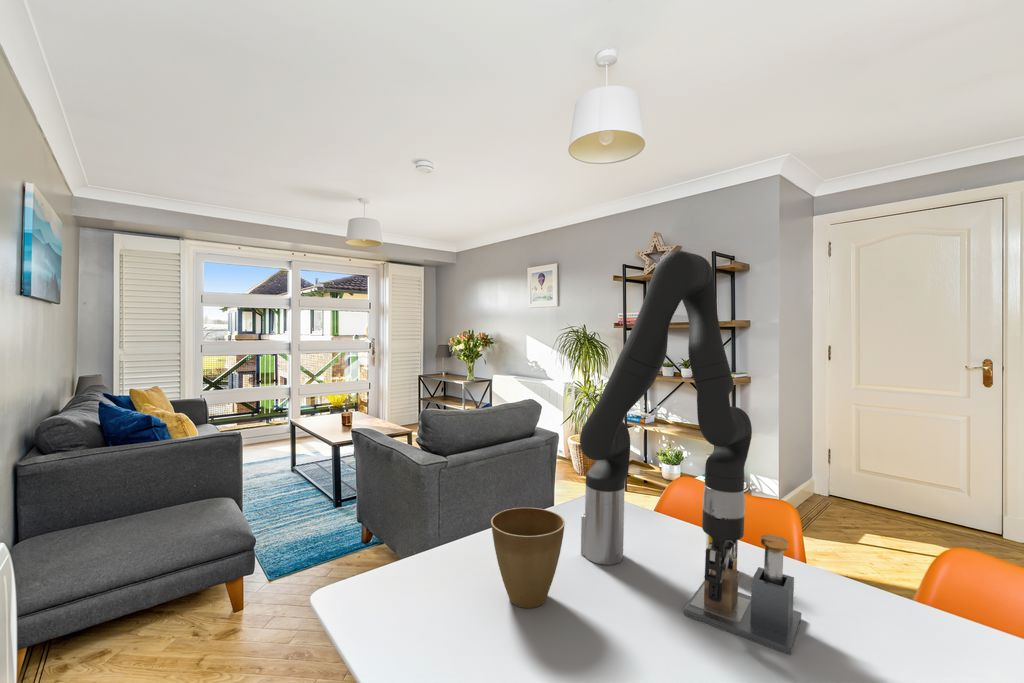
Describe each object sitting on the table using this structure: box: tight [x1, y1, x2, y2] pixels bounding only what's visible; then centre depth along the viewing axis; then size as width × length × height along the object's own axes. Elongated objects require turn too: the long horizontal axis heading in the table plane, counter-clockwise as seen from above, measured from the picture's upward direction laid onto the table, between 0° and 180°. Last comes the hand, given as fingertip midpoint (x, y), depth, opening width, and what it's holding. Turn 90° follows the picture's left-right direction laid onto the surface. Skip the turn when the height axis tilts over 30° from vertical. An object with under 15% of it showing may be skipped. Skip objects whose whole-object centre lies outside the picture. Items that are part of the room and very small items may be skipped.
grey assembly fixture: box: [683, 566, 802, 656], centre depth 92 cm, size 18×13×9 cm
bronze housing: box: [704, 568, 739, 613], centre depth 95 cm, size 5×5×6 cm
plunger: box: [760, 534, 789, 586], centre depth 89 cm, size 4×4×11 cm
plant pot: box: [490, 507, 566, 609], centre depth 97 cm, size 15×15×16 cm
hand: (720, 590), depth 95 cm, fingers open, 8 cm apart
